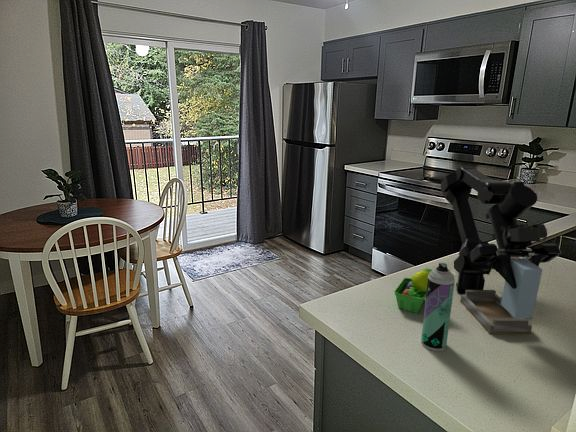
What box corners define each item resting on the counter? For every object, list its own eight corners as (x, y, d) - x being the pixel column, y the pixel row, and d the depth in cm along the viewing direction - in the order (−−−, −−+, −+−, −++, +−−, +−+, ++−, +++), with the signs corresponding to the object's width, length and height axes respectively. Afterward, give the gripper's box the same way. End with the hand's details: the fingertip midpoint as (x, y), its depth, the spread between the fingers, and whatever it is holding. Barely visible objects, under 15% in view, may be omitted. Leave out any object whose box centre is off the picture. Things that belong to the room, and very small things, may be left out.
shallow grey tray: (460, 301, 108) (461, 289, 107) (495, 301, 108) (497, 289, 107) (489, 333, 93) (491, 320, 92) (530, 333, 93) (533, 320, 92)
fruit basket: (403, 292, 114) (406, 257, 111) (434, 300, 109) (438, 263, 106) (392, 309, 104) (395, 271, 101) (425, 318, 100) (430, 278, 97)
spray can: (426, 334, 93) (434, 257, 87) (449, 343, 89) (460, 263, 84) (417, 345, 88) (425, 264, 83) (441, 354, 85) (452, 271, 80)
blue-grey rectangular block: (500, 304, 93) (509, 258, 90) (517, 304, 93) (526, 258, 90) (514, 317, 88) (524, 269, 84) (532, 317, 88) (542, 269, 84)
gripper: (482, 210, 87) (501, 276, 80) (564, 210, 87) (590, 276, 80) (462, 232, 97) (477, 292, 90) (536, 232, 97) (557, 292, 90)
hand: (524, 288), depth 87 cm, fingers closed on blue-grey rectangular block, 4 cm apart
